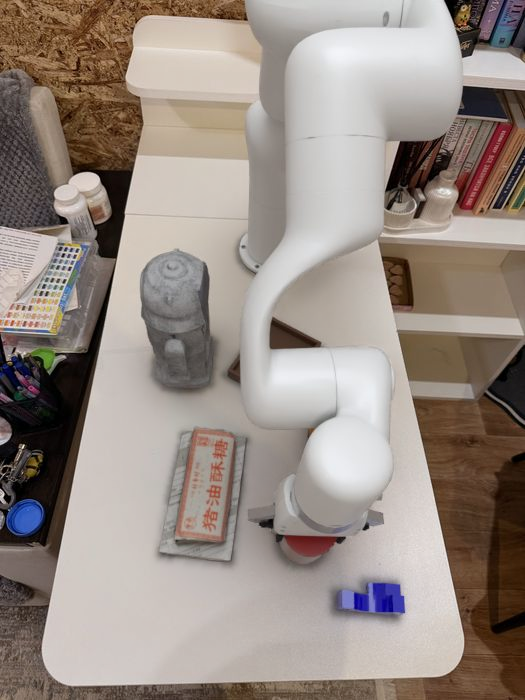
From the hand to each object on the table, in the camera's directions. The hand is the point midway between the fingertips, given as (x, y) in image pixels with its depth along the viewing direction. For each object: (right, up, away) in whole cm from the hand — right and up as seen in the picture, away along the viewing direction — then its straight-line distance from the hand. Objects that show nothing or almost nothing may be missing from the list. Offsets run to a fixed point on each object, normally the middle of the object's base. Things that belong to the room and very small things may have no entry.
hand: (307, 530), depth 67 cm
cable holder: (+8, -10, +2) cm, 13 cm away
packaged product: (-14, +2, +9) cm, 17 cm away
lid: (0, +2, -3) cm, 3 cm away
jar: (0, -3, +6) cm, 7 cm away
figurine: (-19, +22, +20) cm, 35 cm away
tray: (-4, +22, +20) cm, 30 cm away
